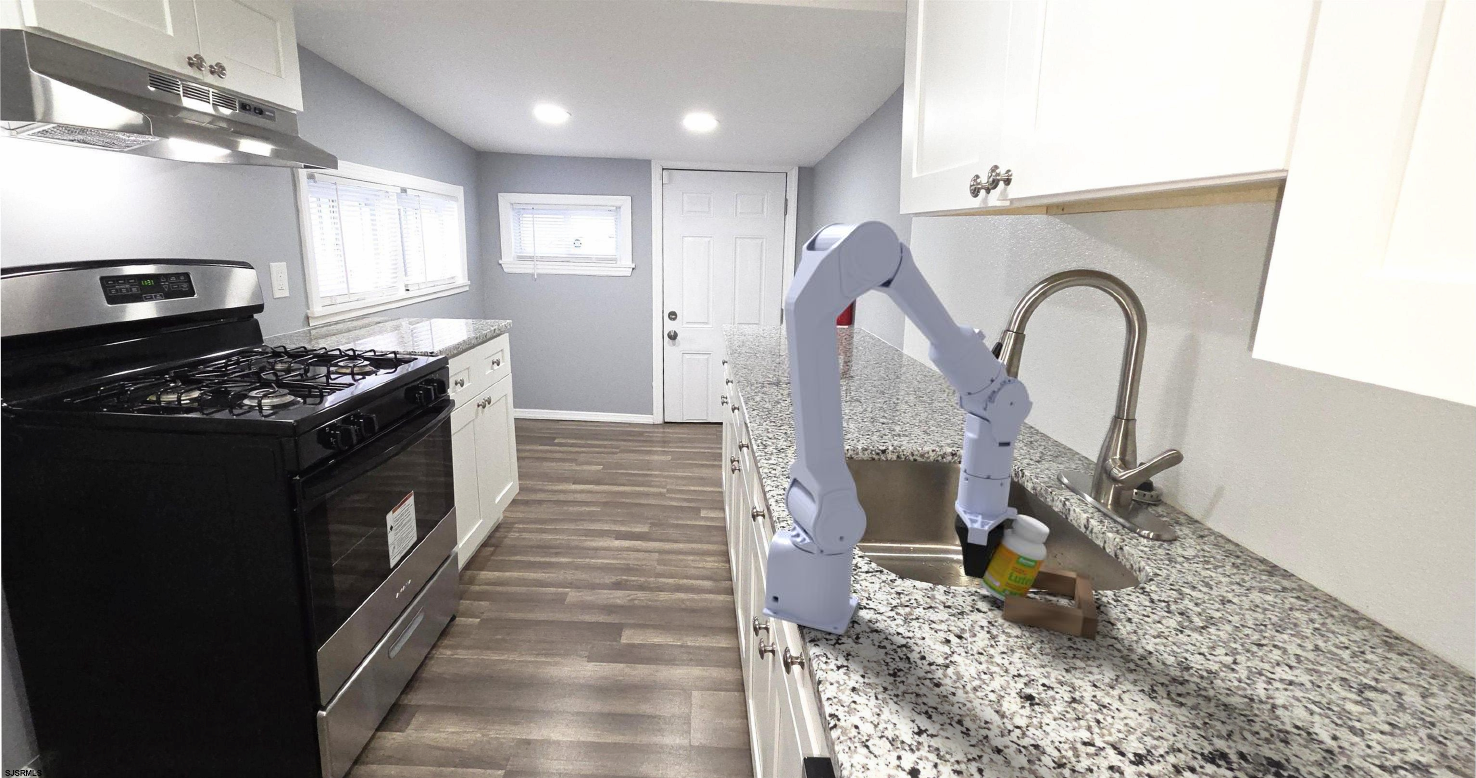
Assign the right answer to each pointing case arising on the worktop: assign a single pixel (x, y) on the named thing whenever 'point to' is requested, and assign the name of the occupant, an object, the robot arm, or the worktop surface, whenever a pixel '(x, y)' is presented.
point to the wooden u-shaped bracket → (1053, 615)
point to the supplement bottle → (1016, 558)
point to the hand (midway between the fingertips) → (973, 574)
